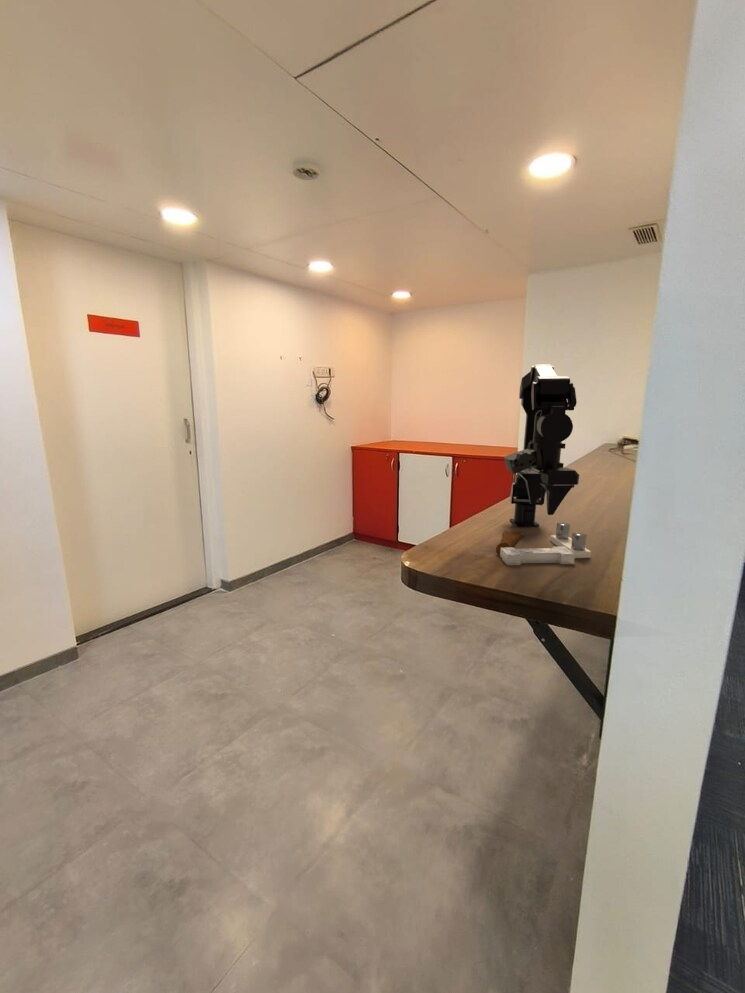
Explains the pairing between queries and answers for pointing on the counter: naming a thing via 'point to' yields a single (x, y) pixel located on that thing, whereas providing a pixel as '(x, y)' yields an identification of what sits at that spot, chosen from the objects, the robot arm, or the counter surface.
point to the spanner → (537, 555)
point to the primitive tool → (508, 540)
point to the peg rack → (571, 540)
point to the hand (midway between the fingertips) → (541, 509)
